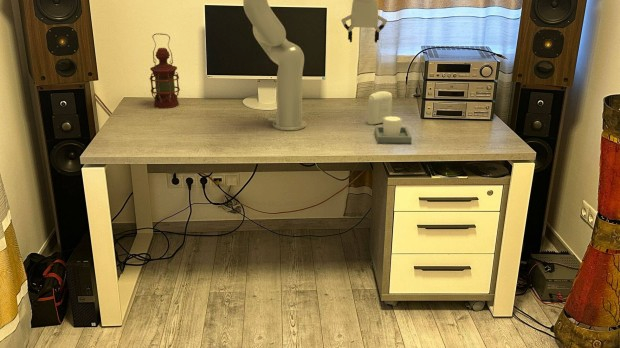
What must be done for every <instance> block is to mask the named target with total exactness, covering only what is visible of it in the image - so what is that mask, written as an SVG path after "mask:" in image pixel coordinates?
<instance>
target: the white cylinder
mask: <svg viewBox="0 0 620 348" xmlns="http://www.w3.org/2000/svg"><path fill="white" fill-rule="evenodd" d="M402 123H403V118H402V117H401V116H395V115H391V116H386V117H384V118H383V123H382V124H383V125H382V127H383V131H384V136H400V129H401V127H402Z"/></svg>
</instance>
